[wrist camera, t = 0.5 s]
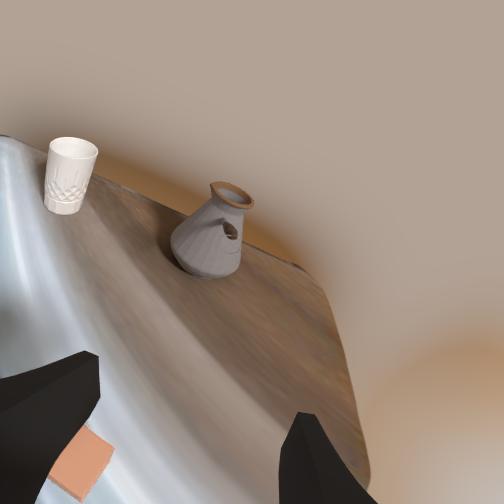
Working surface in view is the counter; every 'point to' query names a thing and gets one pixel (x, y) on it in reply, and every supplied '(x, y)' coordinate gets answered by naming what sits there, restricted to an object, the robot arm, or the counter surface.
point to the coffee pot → (213, 233)
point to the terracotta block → (81, 464)
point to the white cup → (68, 174)
